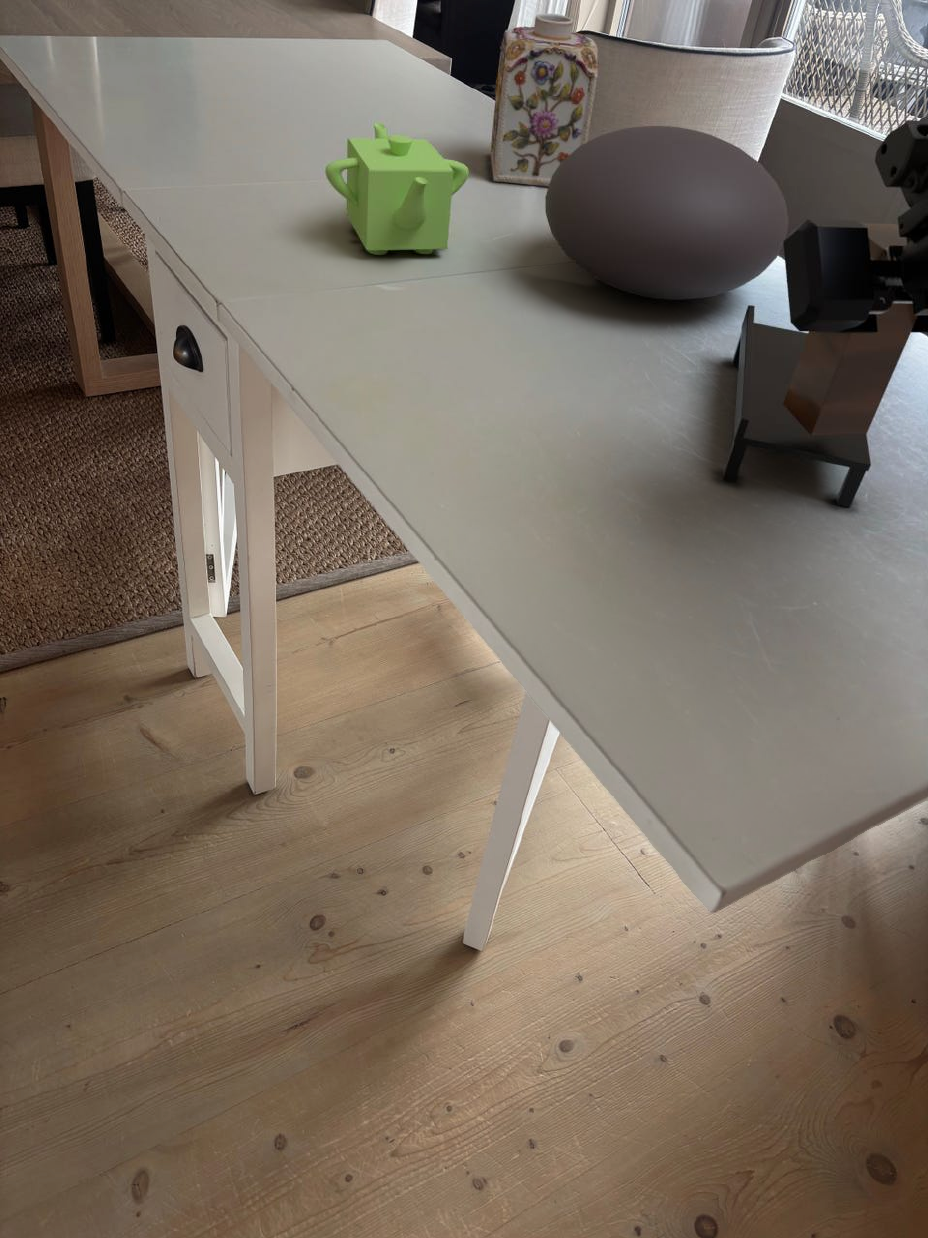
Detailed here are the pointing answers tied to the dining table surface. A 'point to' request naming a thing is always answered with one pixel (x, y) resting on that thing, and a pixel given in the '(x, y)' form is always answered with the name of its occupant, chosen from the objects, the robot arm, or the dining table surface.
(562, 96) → the decorative jar
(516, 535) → the dining table surface
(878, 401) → the walnut block
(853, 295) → the robot arm
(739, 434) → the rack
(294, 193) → the dining table surface
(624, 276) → the smooth stone
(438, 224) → the teapot
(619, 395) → the dining table surface
